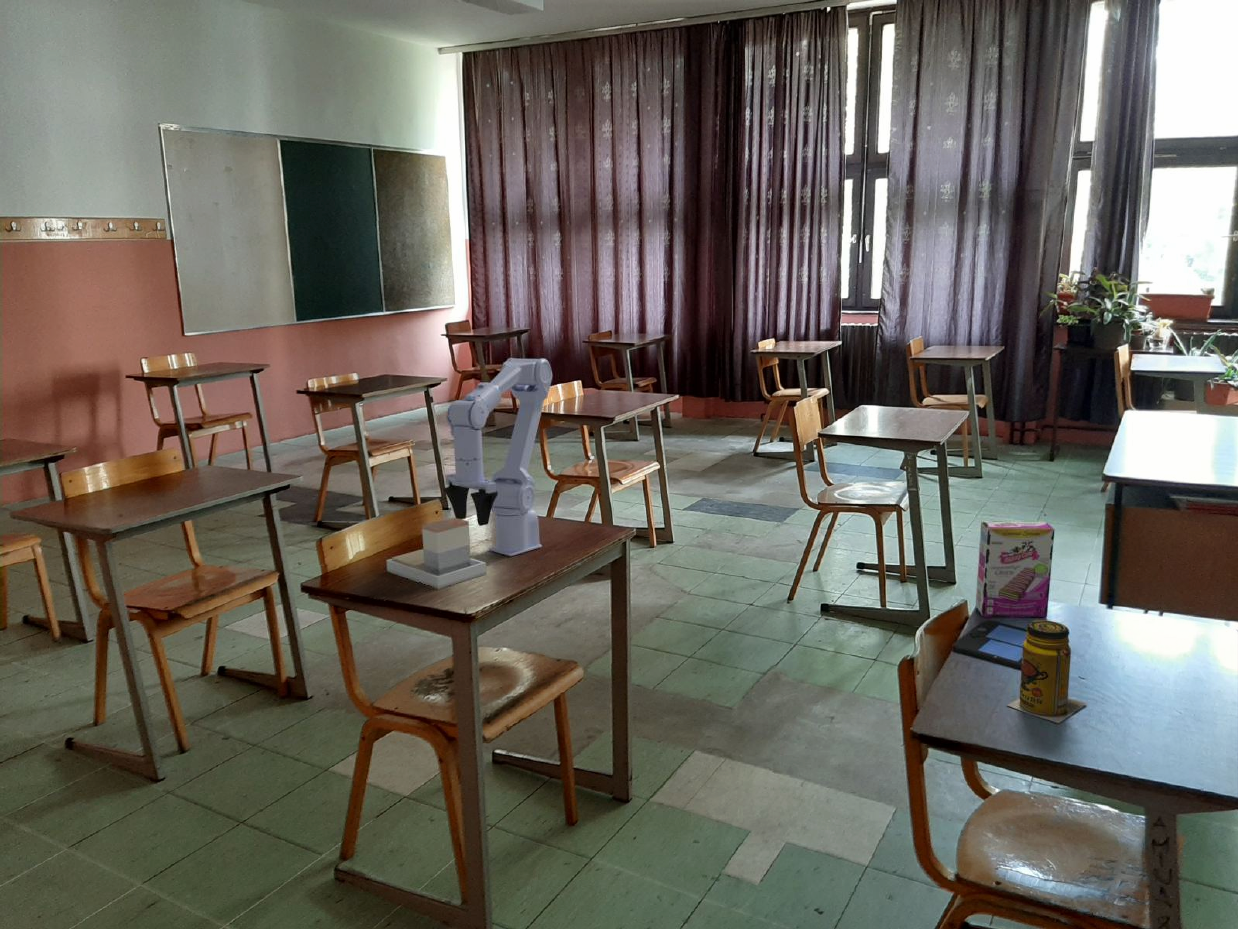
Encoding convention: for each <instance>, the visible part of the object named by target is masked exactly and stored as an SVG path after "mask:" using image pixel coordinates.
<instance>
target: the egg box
mask: <svg viewBox="0 0 1238 929" xmlns="http://www.w3.org/2000/svg"><path fill="white" fill-rule="evenodd" d="M469 526H470V524H469V520H465V519H458V518H456V517H450V518H447V519H443V520H439V521H435V522H430V523H427V524H423V525H421V531H422V532H421V534H422V544H423V545H422V546H423V549H425V550H428V551H431V552H435V553H438V554H439V553H442V552H446V551H449V550H453V549H456V548H460V547H463V546H467V545H470V544H471V540H470V538H471V535H470V527H469Z"/></svg>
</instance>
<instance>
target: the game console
mask: <svg viewBox="0 0 1238 929" xmlns="http://www.w3.org/2000/svg"><path fill="white" fill-rule="evenodd" d="M1026 634H1027V628H1023V627H1019V626H1016V625H1011V624H1007V623H1005V622H1001V621H995V620H994V621H993V620H988V621H987V620H986V621H982V622H979V623H978V624H977V625H975V627H973V628H972V629H971V630H969V631H968V632H966V633H965V634H964V635H963V636H962V637H960V638H959V639H957V640H956V641H955V642H954V643H953V644H952V645H951V649H952V651H953V652H956V653H959V654H963V655H967V656H969V657H973V658H977V659H980V660H983V661H984V660H985V661H988V662H991V663H995V664H998V665H1001V666H1005V667H1008V668H1013V669H1015V670H1016V669H1017V670H1019V671H1021V668H1022V653H1023V650H1022V649H1023V643H1024V641H1026Z"/></svg>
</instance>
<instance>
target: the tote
mask: <svg viewBox="0 0 1238 929" xmlns="http://www.w3.org/2000/svg"><path fill="white" fill-rule="evenodd" d="M423 549H424V548H422V549H417V550H415V551H410V552H407V553H404V554H403V553H402V554H400V555H397V556H393V557H391V558H388V559H387V560H385V561H386V570H387V573H391V574H394V575H396V576H400V577H403V578H405V579H407V578H408V580H411V581H413V582H417V583H419V582H421V583H423V584H422V585H424V584H426V585H425V586H427V585H430V586H432V587H431V588H433V587H434V588H433V589H436V590H440V589H445V588H447V586H448V587H450V586H449V585H451V586H453V585H456V583H457V584H459V582H460V583H463V582H465V581H466V582H467V581H470V580H473V579H475V578H479V577H482V576H485V575H487V562H485V561H482V560H479V559H475V558H472V557H470V560H471V566H470V567H466V568H463V569H460V570H457V571H453V572H450V573H447V574H443V575H440V576H436V575H433V574H430V573H427V572H425V567H424V553H423ZM421 583H420V584H421ZM430 586H429V587H430Z"/></svg>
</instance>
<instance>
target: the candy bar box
mask: <svg viewBox="0 0 1238 929" xmlns="http://www.w3.org/2000/svg"><path fill="white" fill-rule="evenodd" d="M980 522H981V523H980V537H979V548H978V564H977V565H978V566H977V578H976V580H977V581H976V592H975V593H976V594H975V609H976V610H977V609H978V610H977V611H978V613H979V612H980V613H981V614H980V613H979V614H980V615H982V616H985V617H984V618H1025V617H1047V618H1048V609H1049V601H1050V600H1049V598H1050V597H1049V596H1050V587H1051V577H1052V576H1051V574H1052V567H1053V566H1052V565H1053V564H1052V563H1053V552H1054V541H1055V540H1054V539H1055V531H1056V530H1055V528H1054V527H1053V526H1052V525H1050V524H1049V523H1047V522H1046V521H1027V520H1026V521H1025V520H1024V521H1023V520H1022V521H1018V520H1017V521H1014V520H1013V521H1011V520H1009V521H1007V520H1005V521H1003V520H981V521H980ZM976 605H978V606H976ZM982 616H981V617H982Z"/></svg>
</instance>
